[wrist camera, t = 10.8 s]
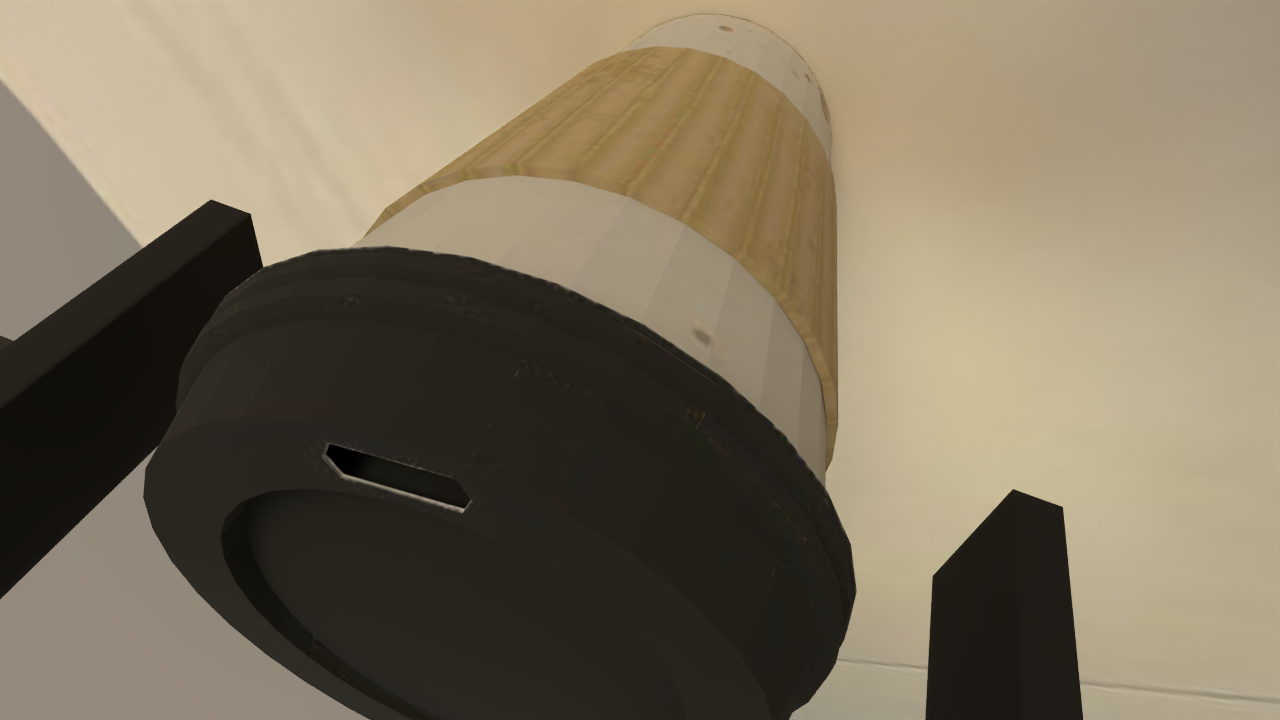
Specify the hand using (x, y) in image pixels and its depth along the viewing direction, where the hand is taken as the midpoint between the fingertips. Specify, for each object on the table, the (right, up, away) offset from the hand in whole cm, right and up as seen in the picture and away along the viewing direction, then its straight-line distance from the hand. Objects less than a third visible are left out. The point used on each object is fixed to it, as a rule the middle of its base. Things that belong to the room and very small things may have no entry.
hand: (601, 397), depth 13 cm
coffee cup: (+3, +7, +8) cm, 10 cm away
